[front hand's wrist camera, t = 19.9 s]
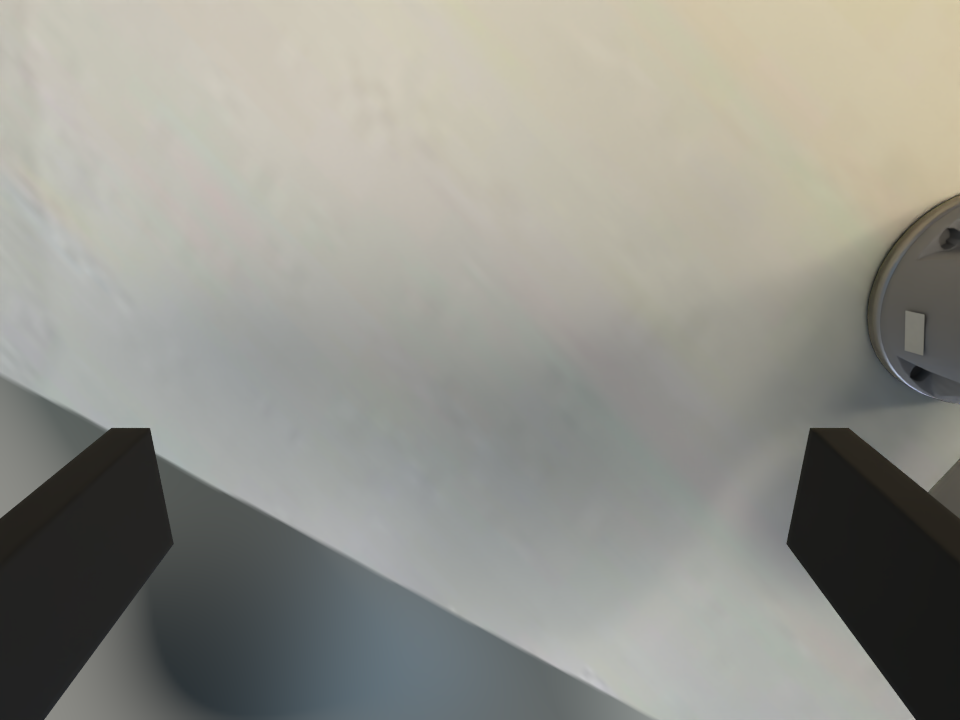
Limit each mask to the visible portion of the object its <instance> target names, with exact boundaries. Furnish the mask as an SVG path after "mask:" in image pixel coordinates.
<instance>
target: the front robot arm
mask: <svg viewBox="0 0 960 720" xmlns="http://www.w3.org/2000/svg"><path fill="white" fill-rule="evenodd" d="M868 331H869V336H870V340H871V343H872V346H873V349H874V351H875V353H876V355H877V357H878V358H879V360H880V362H881V363H882V364H883V366H884V367H885V368H886V369H887V370H888V371H889V372H890V373H891V374H892V375H893V376H894V377H896V378H897V379H898V380H900V381H901V382H903V383H905V384H906V385H908V386H910V387H911V388H913V389H915V390H916V391H918V392H920V393H922V394H924V395H927V396H929V397H933V398H936V399H939V400H942V401H945V402H950V403H956V404H960V195H959V196H956V197H954V198H952V199H950V200H948V201H946V202H944V203H942V204H941V205H939V206H937V207H936V208H934V209H933V210H931V211H930V212H928V213H927V214H925V215H924V216H923V217H922V218H920V219H919V220H918V221H917V222H916V223H914V224H913V225H912V226H911V227H910V228H909V229H908V230H907V231H906V232H905V233H904V234H903V236H902V237H901V238H900V239H899V240H898V241H897V243H896V244H895V245H894V246H893V248H892V249H891V250H890V252H889V254H888V255H887V257H886V258H885V260H884V262H883V263H882V265H881V267H880V269H879V271H878V274H877V276H876V278H875V281H874V284H873V287H872V290H871V294H870V298H869V305H868ZM172 545H173V539H172V534H171V529H170V524H169V519H168V514H167V509H166V504H165V500H164V495H163V490H162V485H161V480H160V475H159V470H158V465H157V460H156V455H155V450H154V445H153V441H152V436H151V431H150V428H111V429H110V430H108V431H107V432H106V433H105V434H104V435H102V436H101V437H100V438H99V439H97V440H96V441H95V442H94V443H93V444H91V445H90V446H89V447H88V448H86V449H85V450H84V451H83V452H81V453H80V454H79V455H78V456H77V457H75V458H74V459H73V460H72V461H70V462H69V463H68V464H67V465H65V466H64V467H63V468H62V469H61V470H59V471H58V472H57V473H56V474H55V475H53V476H52V477H51V478H50V479H48V480H47V481H46V482H45V483H43V484H42V485H41V486H40V487H38V488H37V489H36V490H35V491H34V492H32V493H31V494H30V495H29V496H27V497H26V498H25V499H24V500H23V501H21V502H20V503H19V504H18V505H16V506H15V507H14V508H13V509H11V510H10V511H9V512H8V513H7V514H5V515H4V516H3V517H2V518H0V720H44V719H45V718H46V716H47V715H48V714H49V712H50V711H51V710H52V708H53V707H54V706H55V704H56V703H57V701H58V700H59V699H60V697H61V696H62V695H63V693H64V692H65V690H66V689H67V688H68V687H69V685H70V684H71V682H72V681H73V680H74V678H75V677H76V676H77V674H78V673H79V672H80V670H81V669H82V668H83V666H84V665H85V663H86V662H87V661H88V659H89V658H90V657H91V655H92V654H93V653H94V651H95V650H96V649H97V647H98V646H99V644H100V643H101V642H102V640H103V639H104V638H105V636H106V635H107V634H108V632H109V631H110V630H111V628H112V627H113V625H114V624H115V623H116V621H117V620H118V619H119V617H120V616H121V615H122V613H123V612H124V611H125V609H126V608H127V606H128V605H129V604H130V602H131V601H132V600H133V598H134V597H135V596H136V594H137V593H138V591H139V590H140V589H141V587H142V586H143V585H144V583H145V582H146V581H147V579H148V578H149V577H150V575H151V574H152V573H153V571H154V570H155V568H156V567H157V566H158V564H159V563H160V562H161V560H162V559H163V558H164V556H165V555H166V553H167V552H168V551H169V549H170V548H171V547H172ZM787 545H788V547H789V548H790V549H791V551H792V552H793V553H794V555H795V556H796V558H797V559H798V560H799V562H800V563H801V564H802V566H803V567H804V568H805V570H806V571H807V573H808V574H809V575H810V577H811V578H812V579H813V581H814V582H815V583H816V585H817V586H818V587H819V589H820V590H821V592H822V593H823V594H824V596H825V597H826V598H827V600H828V601H829V602H830V604H831V605H832V606H833V608H834V609H835V611H836V612H837V613H838V615H839V616H840V617H841V619H842V620H843V621H844V623H845V624H846V625H847V627H848V628H849V630H850V631H851V632H852V634H853V635H854V636H855V638H856V639H857V640H858V642H859V643H860V644H861V646H862V647H863V649H864V650H865V651H866V653H867V654H868V655H869V657H870V658H871V659H872V661H873V662H874V663H875V665H876V666H877V668H878V669H879V670H880V672H881V673H882V674H883V676H884V677H885V678H886V680H887V681H888V682H889V684H890V685H891V687H892V688H893V689H894V691H895V692H896V693H897V695H898V696H899V697H900V699H901V700H902V701H903V703H904V704H905V706H906V707H907V708H908V710H909V711H910V712H911V714H912V715H913V716H914V718H915V719H916V720H960V459H959V460H958V461H957V462H956V463H955V464H954V466H953V467H952V468H951V469H950V470H949V471H948V472H947V473H946V474H945V475H944V476H943V477H942V478H941V479H940V480H939V481H938V482H937V483H936V484H935V485H934V486H933V488H932V489H931V490H930V491H929V492H926V491H925V490H924V489H923V488H922V487H920V486H919V485H918V484H917V483H915V482H914V481H913V480H912V479H910V478H909V477H908V476H907V475H906V474H904V473H903V472H902V471H901V470H899V469H898V468H897V467H896V466H895V465H893V464H892V463H891V462H890V461H888V460H887V459H886V458H885V457H883V456H882V455H881V454H880V453H879V452H877V451H876V450H875V449H874V448H872V447H871V446H870V445H869V444H868V443H866V442H865V441H864V440H863V439H861V438H860V437H859V436H858V435H856V434H855V433H854V432H853V431H852V430H850V429H849V428H810V431H809V436H808V441H807V445H806V450H805V455H804V460H803V465H802V470H801V475H800V480H799V485H798V490H797V495H796V499H795V504H794V509H793V514H792V519H791V524H790V529H789V534H788V539H787Z"/></svg>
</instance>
